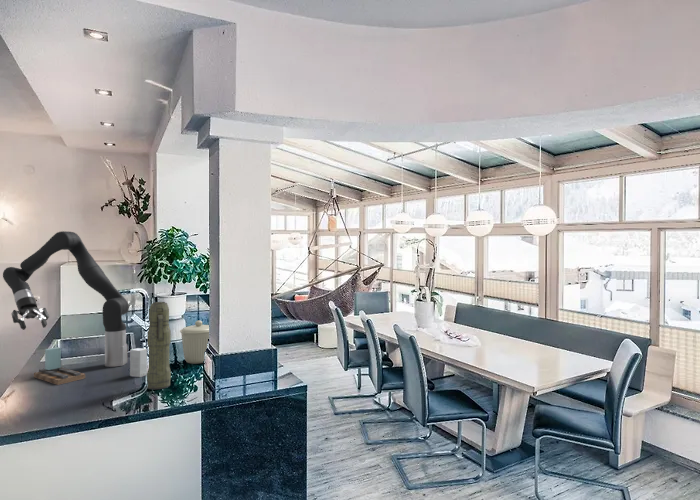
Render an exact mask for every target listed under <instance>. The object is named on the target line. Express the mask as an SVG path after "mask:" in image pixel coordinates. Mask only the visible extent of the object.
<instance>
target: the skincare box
mask: <svg viewBox="0 0 700 500" xmlns="http://www.w3.org/2000/svg"><path fill="white" fill-rule="evenodd" d="M147 373H148V349H147V348H142V347H141V348H140V347H137V348H133V349H130V350H129V376H130V377H133V378H134V377H135V378H142V377H145V376H147Z"/></svg>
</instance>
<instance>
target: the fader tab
mask: <svg viewBox="0 0 700 500" xmlns="http://www.w3.org/2000/svg"><path fill="white" fill-rule="evenodd" d="M44 352H45V353H44V363H45V364H44V369H46V370H51V371H54V372H56V371H58V368H61V363H62V361H61V357H62V354H61V353H62V351H61V347H58V346H57V347H51V348H45V349H44Z"/></svg>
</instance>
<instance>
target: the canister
mask: <svg viewBox="0 0 700 500" xmlns="http://www.w3.org/2000/svg"><path fill="white" fill-rule="evenodd" d="M209 325H210V324H203V321H202V320H201V319H200V320H196V321H195V322H194V325H193V324H192V325H187V326H185V327H183V328H182V329H180V330H179V333H180V334H181V342H182V344H181V345H182V352H183V357H184V361H186V363H187V364H192V365H194V364H195V365H197V364H204V363H203V361H204V352H205V351H206V349H207V343H208V339H209Z"/></svg>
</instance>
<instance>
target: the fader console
mask: <svg viewBox="0 0 700 500" xmlns="http://www.w3.org/2000/svg"><path fill="white" fill-rule="evenodd" d="M33 378H35V379H38V380H42V381H44V382H48V383H50V384H54V385H57V386H60V385H62V384H63V385H64V384H68V383H73V382H76V381H81V380H83V379H86V373H83V372H80V371H76V370H72V369H69V368H66V367H61V368H58V371H56V372H54V371H51V370H46V369H45V368H40V369H38V371H36V372H33Z"/></svg>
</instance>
